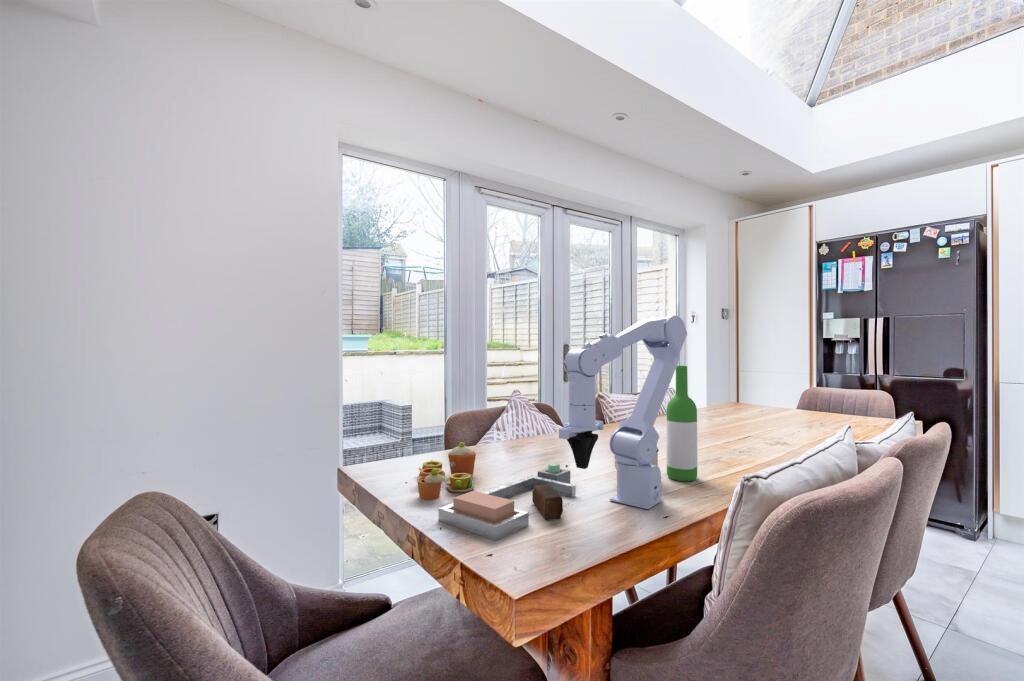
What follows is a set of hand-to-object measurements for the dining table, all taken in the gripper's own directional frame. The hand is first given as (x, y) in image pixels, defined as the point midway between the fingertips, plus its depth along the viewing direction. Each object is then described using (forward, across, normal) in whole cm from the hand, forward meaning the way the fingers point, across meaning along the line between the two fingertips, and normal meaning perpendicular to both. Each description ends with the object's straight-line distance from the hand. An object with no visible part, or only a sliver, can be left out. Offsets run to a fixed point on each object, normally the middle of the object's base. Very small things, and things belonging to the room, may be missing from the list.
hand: (582, 467), depth 103 cm
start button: (+8, -12, -16) cm, 22 cm away
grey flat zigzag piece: (+10, +8, -12) cm, 17 cm away
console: (+9, -12, -16) cm, 22 cm away
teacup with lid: (+10, -28, -2) cm, 29 cm away
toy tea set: (+10, +6, -37) cm, 39 cm away
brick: (+10, +4, -6) cm, 12 cm away
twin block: (+10, +18, -12) cm, 24 cm away
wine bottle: (+10, -39, +6) cm, 41 cm away
